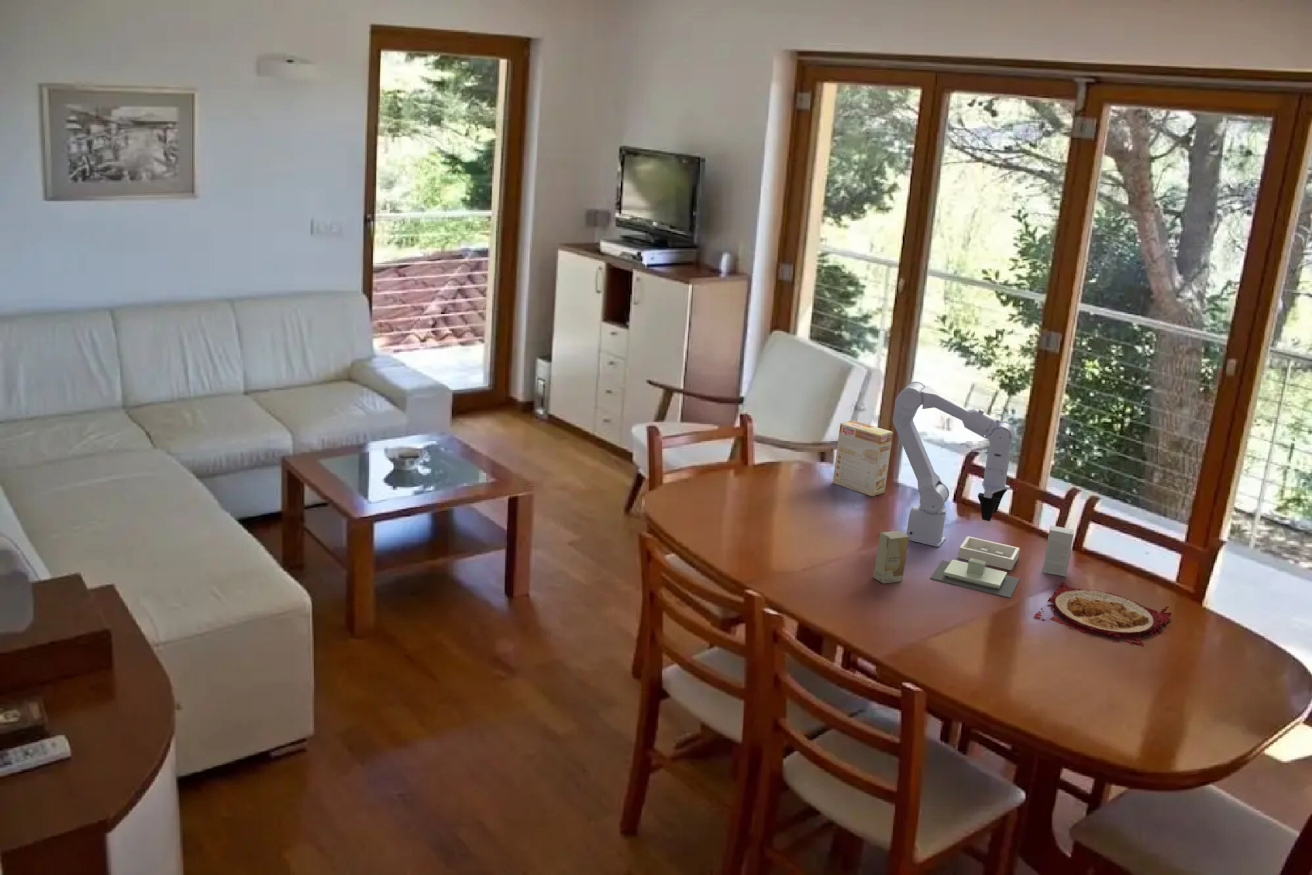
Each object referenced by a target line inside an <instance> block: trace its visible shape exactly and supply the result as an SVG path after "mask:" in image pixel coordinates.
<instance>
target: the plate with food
mask: <svg viewBox="0 0 1312 875" xmlns="http://www.w3.org/2000/svg"><path fill="white" fill-rule="evenodd" d="M1047 602H1050V604H1048V605H1047V607H1050V610H1051V611H1053V616H1052V617H1051V618H1050V620H1051V621H1054V622H1056V623H1058V624H1060V625H1065V626H1068V627H1069V629H1071V630H1072V631H1074V629H1075V630H1077V632H1080V633H1083V634H1091V635H1092V634H1093V633H1095V634H1099V635H1102V636H1109V637H1112V641H1111V642H1113V643H1115V641H1116V642H1120V640H1119V638H1120V639H1122V638H1123V639H1126V640H1122V641H1121V642H1123V643H1128V645H1130V646H1134V644H1133V643H1136V644H1137V646H1140V647H1142V648H1144V647H1145V643H1144V642H1142V639H1143V638H1145V636H1146V635H1147V634H1148V636H1149V635H1150V636H1153V637H1152V638H1154V637H1155V638H1156V637H1157V635H1158V634H1161V632H1162V629H1161V628H1159V627H1162V626H1166V625H1167V623H1168V621H1169V618H1171V616H1172V612H1166V611H1167V610H1168V609H1169V608H1170V606H1165V608H1162V609H1161V610H1159V611H1157V610H1156V609H1151V608H1150V607H1146V606H1144V605H1142V604H1140V603H1138V602H1137V601H1133V600H1131V599H1129V598H1126V597H1123V596H1121V595H1119V594H1114V593H1112V592H1107V591H1101V590H1091V589H1081V588H1075V587H1070V586H1069V585H1067V584H1065V582H1061V584H1060V585H1059V586H1058V587H1057V589H1056V590H1055V591H1054V592H1053V594H1052V596H1050V597H1048V599H1047ZM1040 610H1042V611H1041V612H1039V613H1038V612H1036V613H1035V614H1034V616H1035V617H1036V619H1038V620H1040V619H1041V621H1045V618H1044V617H1043V615H1042V612H1043V613H1044V610H1043V608H1042V607H1041V608H1040ZM1056 612H1057V613H1056ZM1057 614H1058V615H1059V617H1058V615H1057ZM1064 621H1065V622H1064ZM1066 622H1067V623H1066ZM1071 627H1072V628H1071ZM1073 628H1074V629H1073ZM1157 632H1158V633H1157ZM1142 635H1143V636H1142ZM1115 638H1118V639H1115Z"/></svg>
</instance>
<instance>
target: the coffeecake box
mask: <svg viewBox="0 0 1312 875" xmlns="http://www.w3.org/2000/svg"><path fill="white" fill-rule="evenodd" d="M838 431H839V432H838V437H837V446H836V453H835V454H836V455H835V462H834V470H833V477H832V484H835V485H837V486H840V487H843V488H847V489H848V490H849V489H850V490H852V491H856V492H858V493H860V494H864V495H866V496H870V497H875V496H877V495H882V494H884V493H885V491H886V485H887V478H888V471H889V470H888V469H889V462H890V456H891V450H892V442H893V434H894V431H891V430H887V429H885V428H880V427H877V426H874V425H870V424H866V423H864V422H860V421H856V420H854V419H851V420H848V421H845V422H844V421H843V422H840V423H839V430H838Z"/></svg>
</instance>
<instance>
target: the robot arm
mask: <svg viewBox="0 0 1312 875" xmlns="http://www.w3.org/2000/svg"><path fill="white" fill-rule="evenodd" d="M921 406H922V408H921V409H922V410H925V409H926V410H927V409H933V408H935V409H936V410H937V409H938V410H939V411H941V412H944V413H946V414H947V415H949V416H952V417H954V418H956V419H957V420H959V421H961V422H962V424H963V427H964V428H965V429H967V430H969V431H970V432H971V433H972V432H973V433H974V434H976V435H978V436H980V437H982V438H984V439H986V440H988V442H989V448H988V451H987V456H986V461H985V462H986V463H985V468H984V474H983V481H982V484H981V485H982V487H983V490H984V491H983V493H982V492H978V494H977V499H978V501H979V504H980V512H981V520H982V521H986V522H991V520H992V517H993V514H996V513H997V512H998V510H999V507H1000V504H1001V502H1002V499H1003V497H1004V495H1005V494H1006V492H1007V491H1008V490H1010V487H1011V486H1010V485H1008V484H1006V483H1007V478H1008V471H1009V465H1010V457H1011V450H1012V442H1013V439H1014V437H1015V430H1014V428H1013V426H1012V425H1011V424H1010V423H1009V422H1008V421H1002V420H1001V419H1000V418H994V417H993V416H990V415H988V414H987V413H985V410H984V409H982V408H979V409H977V408H973V409H972V408H970V409H967V408H966V407H964V406H963V405H961V404H960V403H958V402H956V401H955V400H952V399H951V398H949V397H947V396H946V395H944V394H943V393H941V392H939V391H938V390H936V389H935V388H933V387H932V386H929V385H925V384H924V383H923V382H920V381H912V382H910V383H908V384H907V386H905V387H904V388H903V389H901V391H900V392H899V393H898V395H897V396H896V398H895V400H894V409H893V414H892V415H893V416H892V424H893V426H894V427H895V430H896V433H897V435H898V437H899V440H900V443H901V445H902V447H903V450H904V452H905V454H906V457H907V459H908V461H909V463H910V466H911V469H912V471H913V473H914V476H915V478H916V481H917V490H918V492H919V505H913V506H911V507H910V508H911V509H910V512H909V514H908V515H909V516H908V522H907V527H906V533H905V534H906V535H908V536H909V542H910V541H911V542H915V543H920V544H924V545H927V546H928V545H929V546H932V547H936V548H940V547H941V545H942V544H943V542H944V541H945V540H946V536H943V534H944V533H943V532H944V528H945V520H946V516H947V514H946V513H947V508H946V505H945V503H946V502H947V500H948V499H949V496H950V491H949V488H948V487H947V485H946V484H945V483H943V481H942V480H941V478H940V476H939V475H938V474H937V473H936V471H935V470H934V468H933V465H932V463H931V460H930V458H929V456H928V453H927V450H926V449H925V446H924V444H923V441H922V439H921V437H920V434H919V431H918V430H917V427H916V425H915V422H914V418H915V416H916V414H917V412H918V409H919V408H920V407H921Z"/></svg>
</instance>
